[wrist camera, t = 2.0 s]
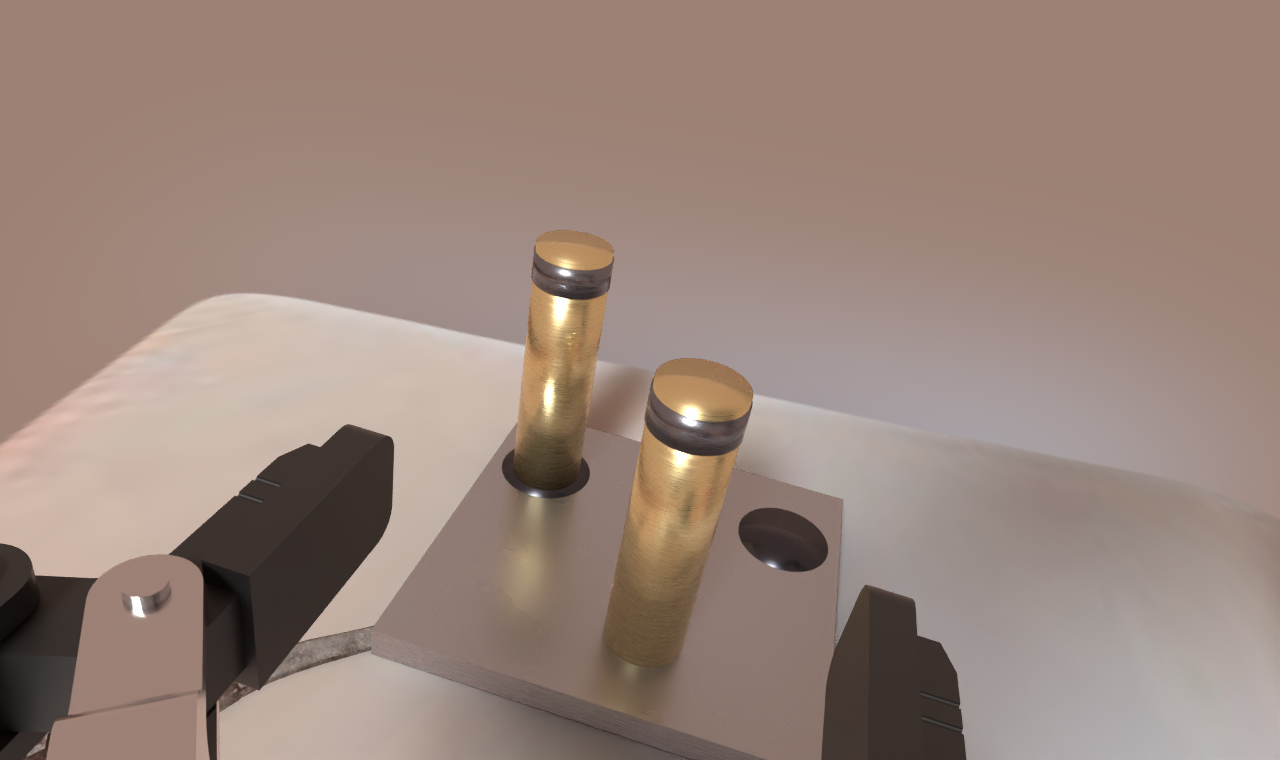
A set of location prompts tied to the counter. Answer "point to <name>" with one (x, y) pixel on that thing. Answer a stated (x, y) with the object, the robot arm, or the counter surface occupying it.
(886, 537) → the counter surface
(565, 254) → the fixed brass leg
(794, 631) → the flange plate
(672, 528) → the loose brass leg
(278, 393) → the counter surface
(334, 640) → the pliers
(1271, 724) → the counter surface
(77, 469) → the counter surface
